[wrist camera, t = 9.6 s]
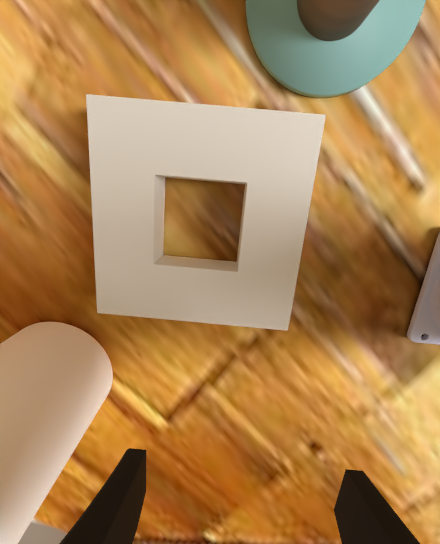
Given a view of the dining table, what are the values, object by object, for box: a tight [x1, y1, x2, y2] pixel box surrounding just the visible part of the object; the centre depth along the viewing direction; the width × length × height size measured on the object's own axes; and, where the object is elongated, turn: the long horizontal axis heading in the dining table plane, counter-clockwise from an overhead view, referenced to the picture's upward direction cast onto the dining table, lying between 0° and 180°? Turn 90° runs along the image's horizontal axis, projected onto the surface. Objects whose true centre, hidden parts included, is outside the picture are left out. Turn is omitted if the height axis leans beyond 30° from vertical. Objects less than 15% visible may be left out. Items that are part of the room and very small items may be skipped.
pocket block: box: [86, 94, 326, 331], centre depth 16 cm, size 12×12×2 cm
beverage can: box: [0, 322, 113, 544], centre depth 15 cm, size 8×8×12 cm
